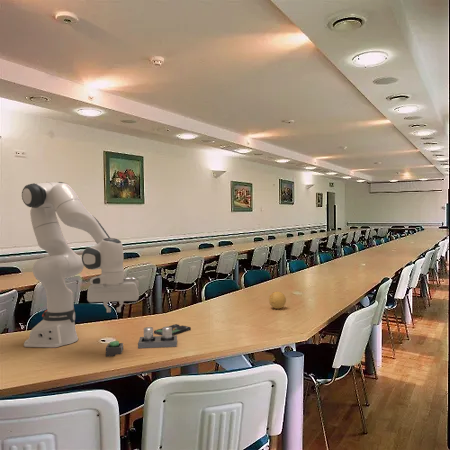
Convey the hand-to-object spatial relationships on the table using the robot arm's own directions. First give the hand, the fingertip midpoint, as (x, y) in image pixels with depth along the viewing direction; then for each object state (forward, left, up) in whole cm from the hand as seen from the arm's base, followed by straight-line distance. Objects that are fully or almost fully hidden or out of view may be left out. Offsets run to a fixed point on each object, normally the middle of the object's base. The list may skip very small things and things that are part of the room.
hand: (113, 312), depth 176 cm
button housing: (0, 0, -17) cm, 17 cm away
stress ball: (+82, +70, -17) cm, 109 cm away
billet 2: (+21, +8, -16) cm, 28 cm away
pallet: (+17, +8, -17) cm, 25 cm away
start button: (0, 0, -14) cm, 14 cm away
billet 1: (+13, +8, -16) cm, 22 cm away
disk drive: (+22, +27, -18) cm, 39 cm away
